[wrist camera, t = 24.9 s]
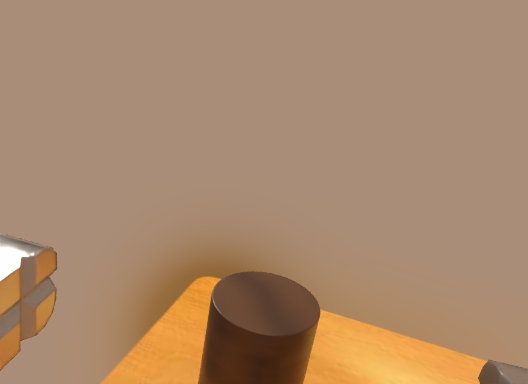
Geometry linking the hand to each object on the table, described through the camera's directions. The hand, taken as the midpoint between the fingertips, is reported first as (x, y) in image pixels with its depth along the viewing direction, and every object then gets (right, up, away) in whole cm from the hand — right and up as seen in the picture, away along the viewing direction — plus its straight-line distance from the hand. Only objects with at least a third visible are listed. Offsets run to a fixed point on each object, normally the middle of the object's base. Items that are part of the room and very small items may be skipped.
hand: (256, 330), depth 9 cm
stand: (-3, -21, +31) cm, 38 cm away
